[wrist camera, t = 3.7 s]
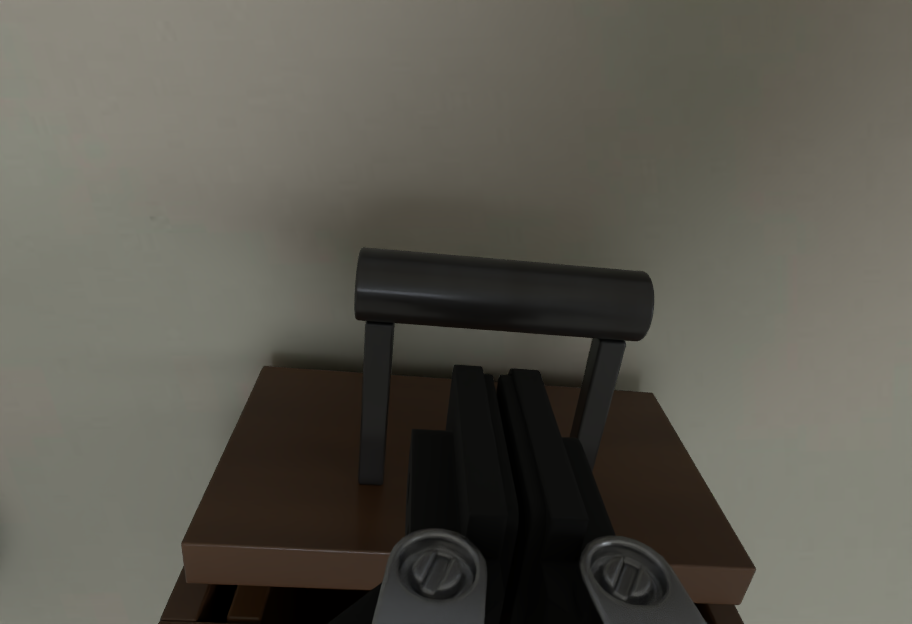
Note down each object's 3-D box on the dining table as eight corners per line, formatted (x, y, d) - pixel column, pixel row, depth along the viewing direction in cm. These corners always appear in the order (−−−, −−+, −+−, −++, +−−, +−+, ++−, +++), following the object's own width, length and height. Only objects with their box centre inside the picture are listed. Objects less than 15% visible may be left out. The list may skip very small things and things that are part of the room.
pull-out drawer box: (256, 176, 16) (146, 281, 10) (704, 218, 17) (862, 337, 11) (274, 666, 25) (222, 886, 19) (569, 675, 26) (614, 885, 20)
